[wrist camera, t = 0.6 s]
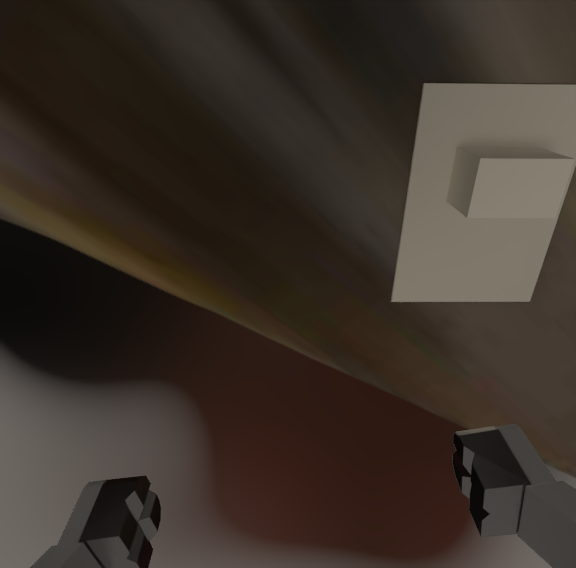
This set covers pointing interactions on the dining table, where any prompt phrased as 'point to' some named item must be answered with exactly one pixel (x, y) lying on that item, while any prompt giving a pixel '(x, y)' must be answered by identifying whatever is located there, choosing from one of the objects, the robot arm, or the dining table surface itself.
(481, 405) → the dining table surface
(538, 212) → the plain beige block
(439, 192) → the felt mat
